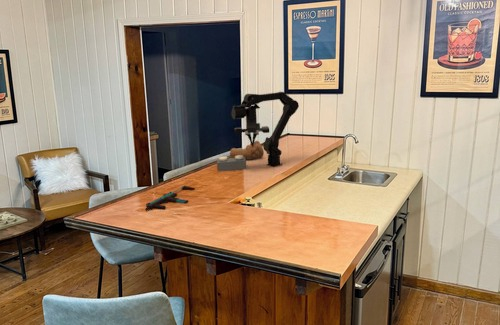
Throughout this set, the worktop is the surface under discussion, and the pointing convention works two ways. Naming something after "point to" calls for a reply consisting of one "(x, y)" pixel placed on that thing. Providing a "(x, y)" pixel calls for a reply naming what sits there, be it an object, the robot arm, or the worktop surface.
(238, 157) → the knob
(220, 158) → the knob
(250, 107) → the robot arm
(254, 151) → the brown rough lump
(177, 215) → the worktop surface
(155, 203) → the gun
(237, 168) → the knob mount
